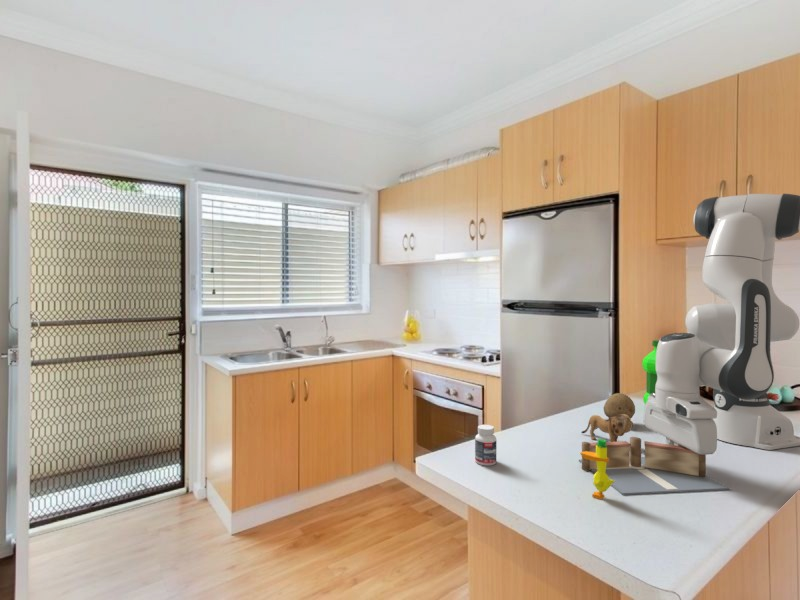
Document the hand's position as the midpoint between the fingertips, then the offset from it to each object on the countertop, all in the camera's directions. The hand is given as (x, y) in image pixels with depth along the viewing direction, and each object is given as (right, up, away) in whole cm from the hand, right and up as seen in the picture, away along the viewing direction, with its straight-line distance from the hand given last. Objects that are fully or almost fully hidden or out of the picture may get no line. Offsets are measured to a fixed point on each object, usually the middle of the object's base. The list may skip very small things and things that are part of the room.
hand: (676, 458), depth 101 cm
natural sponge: (+4, -2, +34) cm, 35 cm away
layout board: (-8, -3, -3) cm, 9 cm away
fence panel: (-2, -2, -3) cm, 4 cm away
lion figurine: (-7, -3, +19) cm, 21 cm away
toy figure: (-25, -3, -13) cm, 28 cm away
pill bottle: (-45, -3, +5) cm, 45 cm away
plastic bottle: (+26, -2, +49) cm, 56 cm away
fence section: (-15, -3, +1) cm, 15 cm away
